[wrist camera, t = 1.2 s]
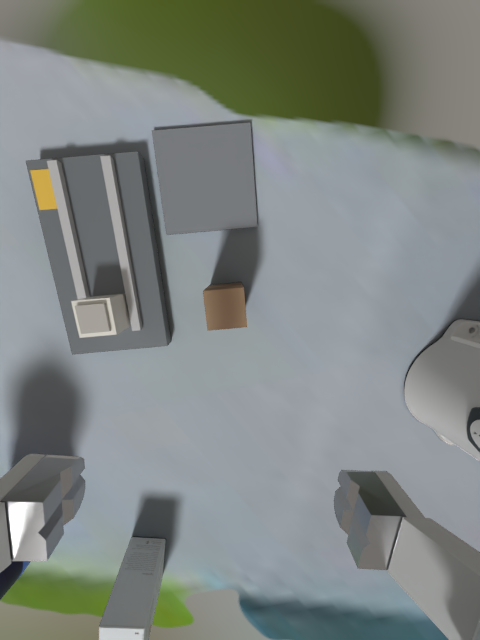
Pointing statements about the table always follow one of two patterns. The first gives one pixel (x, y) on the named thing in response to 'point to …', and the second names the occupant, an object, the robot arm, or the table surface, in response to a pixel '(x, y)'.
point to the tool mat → (206, 178)
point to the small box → (134, 592)
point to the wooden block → (225, 306)
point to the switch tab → (101, 315)
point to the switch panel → (102, 243)
